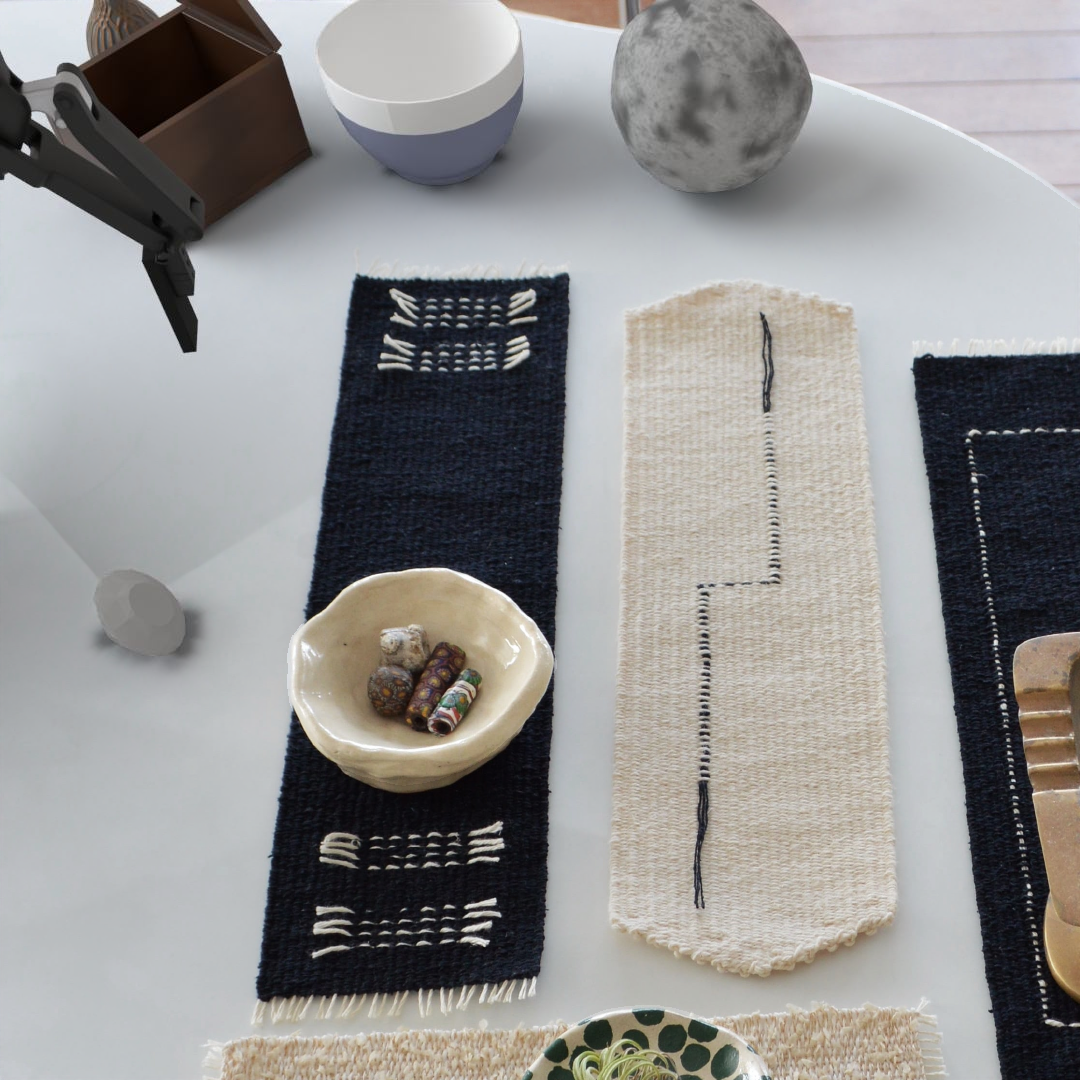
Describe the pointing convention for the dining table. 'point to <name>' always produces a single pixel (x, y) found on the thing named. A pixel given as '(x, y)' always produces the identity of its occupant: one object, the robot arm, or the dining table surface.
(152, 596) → the grey rounded piece
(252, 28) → the lid
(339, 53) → the bowl
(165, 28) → the chest
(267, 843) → the dining table surface
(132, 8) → the vase
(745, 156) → the stone
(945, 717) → the dining table surface
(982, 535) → the dining table surface
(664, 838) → the dining table surface
